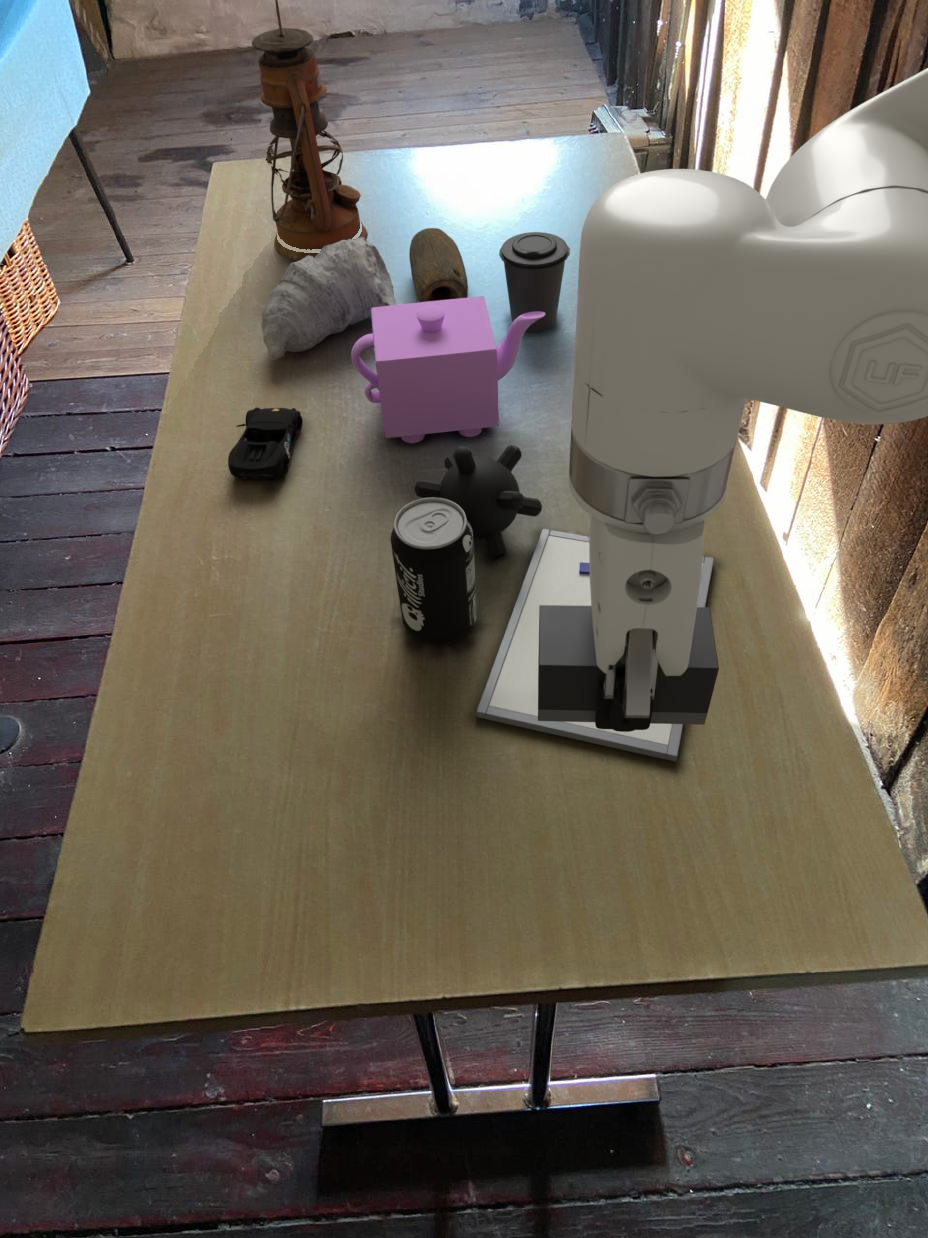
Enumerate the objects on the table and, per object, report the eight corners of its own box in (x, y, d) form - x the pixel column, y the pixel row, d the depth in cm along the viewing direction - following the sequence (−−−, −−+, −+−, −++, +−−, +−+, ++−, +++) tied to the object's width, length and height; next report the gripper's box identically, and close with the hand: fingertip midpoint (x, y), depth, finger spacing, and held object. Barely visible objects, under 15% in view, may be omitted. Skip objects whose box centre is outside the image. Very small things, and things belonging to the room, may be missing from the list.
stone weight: (479, 323, 114) (477, 271, 109) (422, 331, 113) (418, 280, 108) (455, 263, 124) (452, 213, 119) (403, 271, 123) (398, 221, 118)
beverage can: (387, 624, 82) (371, 524, 73) (439, 583, 85) (429, 482, 76) (441, 662, 79) (430, 563, 70) (493, 618, 82) (489, 517, 73)
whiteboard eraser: (696, 665, 59) (709, 606, 55) (704, 725, 56) (719, 668, 52) (538, 662, 60) (539, 604, 56) (537, 721, 57) (538, 665, 53)
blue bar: (635, 567, 85) (635, 565, 84) (635, 577, 84) (635, 574, 84) (579, 564, 85) (579, 562, 85) (579, 573, 84) (579, 571, 84)
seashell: (269, 376, 109) (250, 297, 101) (266, 310, 118) (249, 233, 111) (406, 358, 110) (398, 278, 102) (392, 294, 119) (384, 217, 112)
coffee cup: (518, 346, 110) (518, 266, 103) (489, 313, 115) (487, 235, 108) (579, 328, 112) (583, 248, 105) (548, 296, 117) (549, 218, 110)
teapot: (363, 452, 98) (346, 348, 89) (359, 396, 105) (343, 293, 96) (551, 432, 99) (554, 326, 90) (535, 377, 106) (537, 273, 97)
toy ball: (545, 566, 82) (411, 544, 80) (520, 564, 93) (400, 545, 91) (565, 445, 82) (429, 421, 80) (537, 457, 92) (417, 436, 90)
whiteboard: (712, 564, 85) (714, 557, 85) (676, 762, 72) (677, 756, 71) (542, 534, 89) (542, 527, 88) (476, 717, 75) (476, 711, 75)
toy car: (300, 412, 104) (293, 379, 101) (318, 479, 96) (311, 446, 93) (223, 427, 103) (214, 395, 99) (235, 496, 95) (225, 464, 92)
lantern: (380, 258, 126) (348, -1, 103) (284, 276, 124) (231, 17, 101) (353, 204, 137) (320, -40, 114) (265, 220, 135) (213, -26, 112)
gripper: (756, 589, 38) (695, 813, 52) (710, 354, 49) (669, 590, 63) (572, 587, 39) (559, 809, 53) (567, 355, 50) (557, 588, 64)
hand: (619, 687), depth 58 cm, fingers closed on whiteboard eraser, 4 cm apart
